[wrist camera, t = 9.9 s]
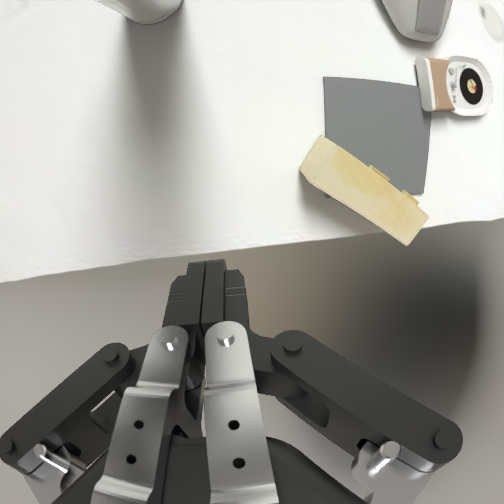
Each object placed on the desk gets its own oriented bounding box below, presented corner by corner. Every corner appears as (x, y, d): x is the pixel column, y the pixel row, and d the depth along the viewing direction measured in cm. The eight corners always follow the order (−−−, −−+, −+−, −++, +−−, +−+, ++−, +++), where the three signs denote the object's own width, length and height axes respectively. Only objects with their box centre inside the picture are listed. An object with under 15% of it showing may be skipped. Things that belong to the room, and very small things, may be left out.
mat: (323, 76, 37) (324, 76, 37) (429, 88, 37) (431, 88, 37) (324, 196, 48) (325, 197, 47) (421, 192, 48) (423, 193, 47)
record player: (424, 50, 31) (494, 61, 30) (413, 51, 33) (484, 60, 33) (433, 119, 37) (499, 117, 36) (422, 116, 39) (489, 114, 39)
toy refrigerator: (322, 129, 41) (410, 196, 48) (297, 168, 45) (387, 226, 51) (339, 138, 35) (432, 214, 41) (309, 183, 38) (407, 248, 44)
